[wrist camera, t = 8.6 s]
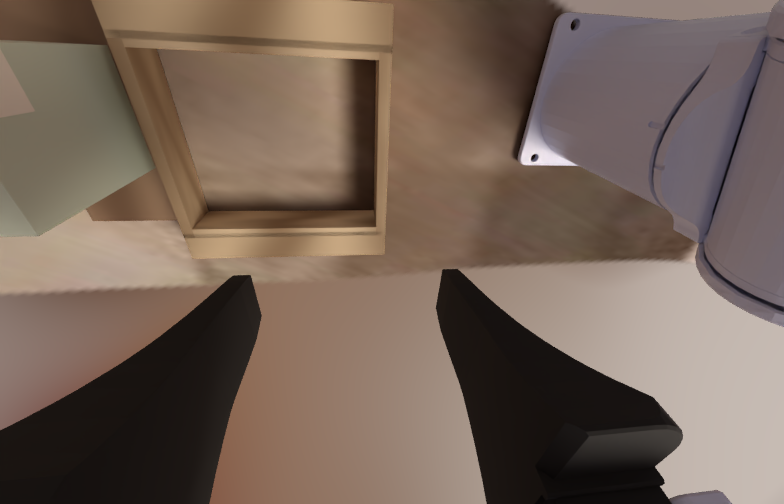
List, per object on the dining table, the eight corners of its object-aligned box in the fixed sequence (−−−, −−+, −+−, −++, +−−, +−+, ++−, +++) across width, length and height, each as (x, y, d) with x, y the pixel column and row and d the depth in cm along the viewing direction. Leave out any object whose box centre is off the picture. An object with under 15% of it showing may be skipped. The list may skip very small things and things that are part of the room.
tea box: (108, 45, 14) (-98, 39, 8) (156, 167, 18) (40, 236, 11) (12, 40, 14) (-293, 30, 7) (80, 166, 17) (-89, 237, 11)
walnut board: (110, -21, 13) (105, -23, 13) (194, 217, 20) (193, 220, 20) (-44, -33, 13) (-52, -34, 13) (96, 218, 19) (92, 220, 19)
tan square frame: (388, 10, 15) (393, 3, 13) (381, 235, 22) (384, 254, 20) (124, -9, 14) (83, -19, 12) (208, 238, 21) (192, 258, 19)
